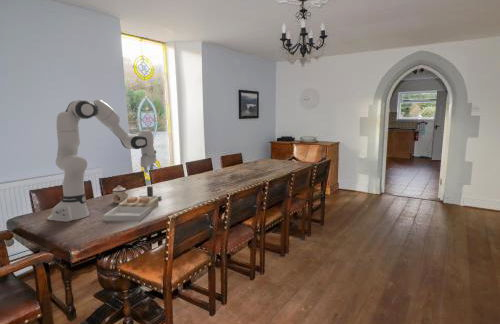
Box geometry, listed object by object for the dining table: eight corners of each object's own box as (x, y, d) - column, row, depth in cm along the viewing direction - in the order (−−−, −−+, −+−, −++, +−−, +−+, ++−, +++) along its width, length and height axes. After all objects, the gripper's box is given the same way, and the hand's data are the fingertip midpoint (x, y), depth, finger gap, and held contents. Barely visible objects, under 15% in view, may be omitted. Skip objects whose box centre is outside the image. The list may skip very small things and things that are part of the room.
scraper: (139, 200, 217) (138, 187, 215) (140, 199, 220) (139, 186, 218) (160, 200, 216) (159, 187, 215) (161, 199, 219) (161, 186, 218)
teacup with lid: (110, 202, 211) (109, 186, 209) (120, 199, 220) (119, 183, 218) (122, 204, 207) (121, 188, 205) (132, 200, 215) (131, 185, 213)
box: (103, 220, 174) (103, 215, 174) (117, 211, 191) (117, 206, 190) (140, 221, 173) (139, 215, 173) (150, 212, 190) (150, 206, 189)
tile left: (126, 202, 194) (126, 199, 194) (130, 200, 199) (130, 197, 199) (134, 202, 194) (134, 199, 194) (137, 200, 199) (137, 197, 199)
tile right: (138, 202, 194) (138, 199, 194) (141, 200, 199) (141, 197, 199) (146, 202, 194) (146, 199, 194) (149, 200, 199) (149, 197, 198)
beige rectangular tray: (119, 211, 191) (118, 204, 190) (130, 203, 208) (130, 197, 207) (149, 212, 190) (148, 204, 189) (158, 204, 207) (158, 197, 206)
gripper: (146, 154, 202) (147, 174, 204) (157, 150, 222) (158, 168, 225) (137, 154, 202) (138, 174, 205) (148, 150, 223) (149, 168, 225)
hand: (149, 171), depth 215 cm, fingers open, 8 cm apart
